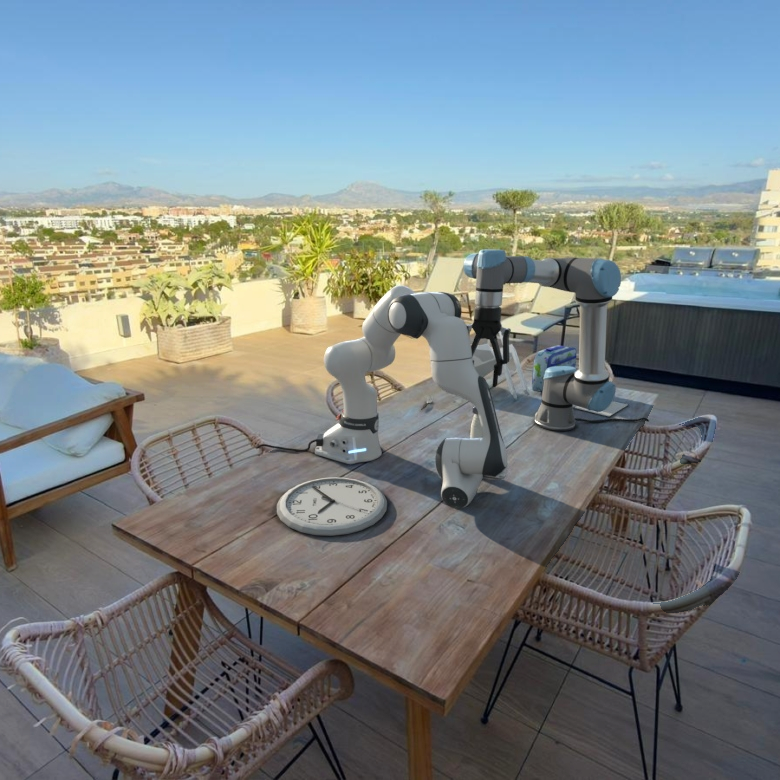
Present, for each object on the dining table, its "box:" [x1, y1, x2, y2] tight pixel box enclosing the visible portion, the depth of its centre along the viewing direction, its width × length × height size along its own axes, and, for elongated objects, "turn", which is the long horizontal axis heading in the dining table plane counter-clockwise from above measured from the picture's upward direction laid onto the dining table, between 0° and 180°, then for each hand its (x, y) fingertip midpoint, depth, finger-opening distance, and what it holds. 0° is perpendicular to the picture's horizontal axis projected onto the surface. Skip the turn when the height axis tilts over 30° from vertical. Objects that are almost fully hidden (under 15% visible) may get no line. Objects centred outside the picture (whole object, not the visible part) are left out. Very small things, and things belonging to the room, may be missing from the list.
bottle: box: [469, 414, 484, 438], centre depth 160 cm, size 5×5×22 cm
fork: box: [420, 395, 435, 411], centre depth 224 cm, size 3×16×2 cm, turn 160°
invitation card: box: [573, 400, 629, 418], centre depth 226 cm, size 21×1×15 cm
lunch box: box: [531, 345, 577, 393], centre depth 245 cm, size 26×11×21 cm, turn 134°
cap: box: [472, 404, 478, 415], centre depth 157 cm, size 5×5×2 cm
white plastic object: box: [472, 321, 531, 400], centre depth 245 cm, size 37×45×31 cm
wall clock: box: [276, 476, 388, 537], centre depth 142 cm, size 30×2×30 cm
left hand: (477, 454), depth 162 cm, fingers open, 8 cm apart
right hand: (482, 384), depth 154 cm, fingers open, 7 cm apart
